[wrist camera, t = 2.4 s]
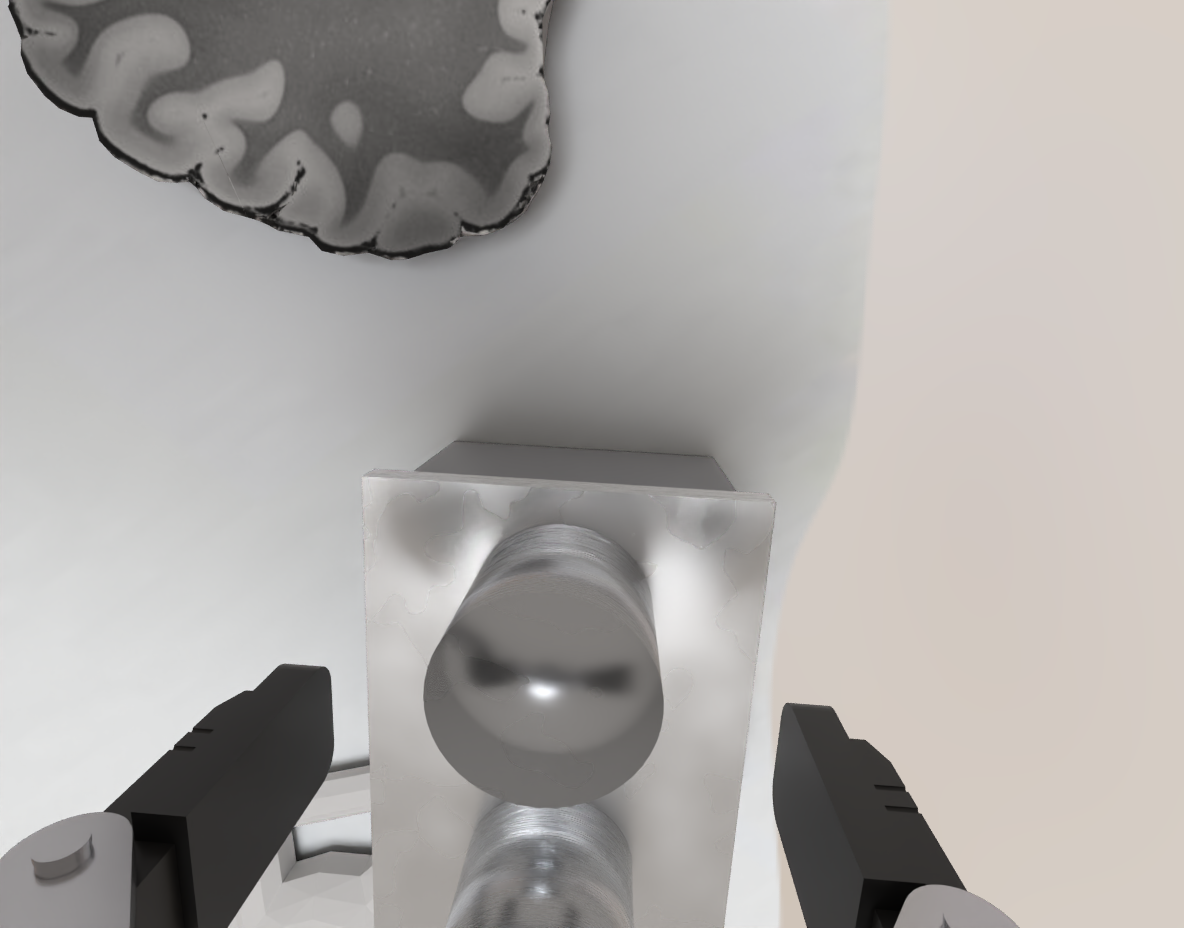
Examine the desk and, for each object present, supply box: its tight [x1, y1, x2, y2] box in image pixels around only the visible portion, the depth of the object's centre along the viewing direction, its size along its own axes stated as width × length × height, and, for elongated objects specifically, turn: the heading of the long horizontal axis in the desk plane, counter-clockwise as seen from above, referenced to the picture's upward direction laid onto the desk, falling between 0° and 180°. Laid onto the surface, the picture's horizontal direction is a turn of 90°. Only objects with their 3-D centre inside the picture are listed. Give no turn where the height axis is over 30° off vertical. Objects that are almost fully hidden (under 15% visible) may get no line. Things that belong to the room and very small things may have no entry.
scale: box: [415, 441, 736, 491], centre depth 21 cm, size 13×10×6 cm
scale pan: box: [362, 469, 776, 928], centre depth 17 cm, size 14×10×1 cm
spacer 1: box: [423, 524, 664, 808], centre depth 14 cm, size 5×5×4 cm
